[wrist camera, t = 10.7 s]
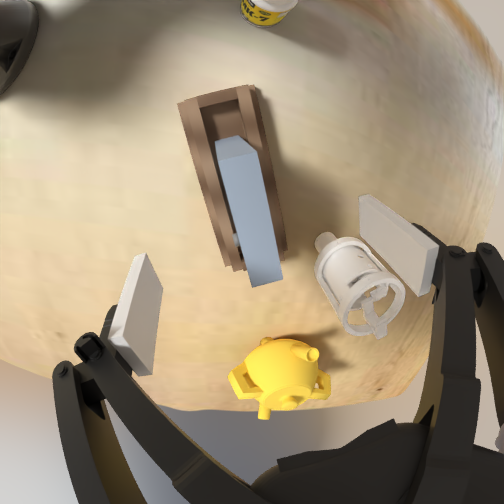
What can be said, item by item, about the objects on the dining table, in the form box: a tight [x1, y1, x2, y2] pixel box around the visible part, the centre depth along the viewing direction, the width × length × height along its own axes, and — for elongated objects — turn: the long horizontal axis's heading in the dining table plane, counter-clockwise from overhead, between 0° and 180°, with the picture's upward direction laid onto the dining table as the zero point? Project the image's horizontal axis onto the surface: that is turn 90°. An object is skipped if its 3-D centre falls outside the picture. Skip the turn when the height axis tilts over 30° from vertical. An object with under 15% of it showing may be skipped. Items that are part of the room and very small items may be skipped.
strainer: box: [314, 232, 405, 340], centre depth 29 cm, size 7×7×15 cm
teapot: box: [228, 337, 331, 420], centre depth 41 cm, size 20×18×11 cm
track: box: [177, 85, 288, 272], centre depth 29 cm, size 20×8×3 cm, turn 12°
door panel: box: [215, 135, 283, 288], centre depth 24 cm, size 10×3×12 cm, turn 12°
